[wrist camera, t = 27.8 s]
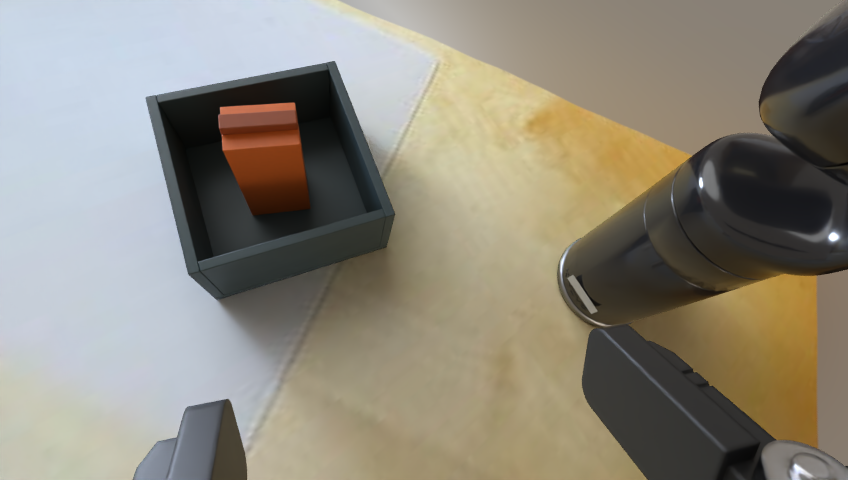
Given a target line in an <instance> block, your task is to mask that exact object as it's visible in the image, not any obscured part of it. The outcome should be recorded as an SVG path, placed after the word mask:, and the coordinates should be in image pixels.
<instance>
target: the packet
mask: <svg viewBox="0 0 848 480" xmlns="http://www.w3.org/2000/svg"><path fill="white" fill-rule="evenodd" d="M218 121H219V130H220V132H221V134H222V147H223V152H224V154H225V156H226V159H227V161H228V163H229V165H230V167H231V169H232V172H233V174H234V176H235V178H236V180H237V183H238V185H239V187H240V189H241V191H242V193H243V196H244V198H245V200H246V202H247V204H248V206H249V209H250V211H251V213H252V215H261V214H270V213H279V212H288V211H297V210H306V209H311V207H310V199H309V192H308V184H307V176H306V170H305V163H304V157H303V151H302V144H301V138H300V131H299V125H298V119H297V112H296V106H295V103H279V104H263V105H246V106H230V107H220V115H218Z"/></svg>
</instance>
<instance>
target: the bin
mask: <svg viewBox="0 0 848 480" xmlns="http://www.w3.org/2000/svg"><path fill="white" fill-rule="evenodd" d="M146 102H147V106H148V110H149V114H150V118H151V122H152V126H153V130H154V135H155V139H156V143H157V147H158V151H159V155H160V159H161V164H162V168H163V172H164V176H165V180H166V184H167V188H168V192H169V197H170V201H171V205H172V209H173V213H174V217H175V221H176V225H177V230H178V234H179V238H180V242H181V246H182V250H183V254H184V259H185V263H186V267H187V271H188V274H189V275H190V276H191V277H192V278H193V279H194V280H195V281H196V282H197V283H198V284H200V285H201V286H202V287H203V288H204V289H205V290H206V291H207V292H209V293H210V294H211V295H212V296H213V297H214V298H215V299H216V300H218V299H221V298H225V297H228V296H231V295H234V294H237V293H241V292H244V291H247V290H250V289H253V288H257V287H260V286H263V285H266V284H269V283H273V282H276V281H279V280H282V279H285V278H289V277H292V276H295V275H298V274H301V273H305V272H308V271H311V270H314V269H317V268H321V267H324V266H327V265H330V264H333V263H337V262H340V261H343V260H346V259H349V258H353V257H356V256H359V255H362V254H365V253H369V252H372V251H375V250H378V249H381V248H385V247H387V243H388V240H389V236H390V232H391V228H392V224H393V220H394V216H395V213H394V210H393V208H392V205H391V203H390V200H389V197H388V195H387V192H386V190H385V187H384V185H383V182H382V180H381V177H380V175H379V172H378V170H377V167H376V164H375V162H374V159H373V157H372V154H371V152H370V149H369V147H368V144H367V142H366V139H365V136H364V134H363V131H362V129H361V126H360V124H359V121H358V119H357V116H356V114H355V111H354V108H353V106H352V103H351V101H350V98H349V96H348V93H347V91H346V88H345V86H344V83H343V81H342V78H341V75H340V73H339V70H338V68H337V65H336V63H335V61H332V62H327V63H323V64H318V65H312V66H307V67H302V68H297V69H291V70H286V71H281V72H275V73H270V74H265V75H260V76H254V77H249V78H244V79H239V80H233V81H228V82H223V83H217V84H212V85H207V86H202V87H196V88H191V89H186V90H181V91H175V92H170V93H165V94H159V95H157V96H156V95H154V96H149V97H146ZM279 103H295V106H296V112H297V119H298V125H299V131H300V138H301V144H302V151H303V157H304V163H305V170H306V176H307V184H308V192H309V199H310V207H311V209H306V210H297V211H288V212H279V213H270V214H261V215H252V213H251V211H250V209H249V206H248V204H247V202H246V200H245V198H244V196H243V193H242V191H241V189H240V187H239V185H238V183H237V180H236V178H235V176H234V174H233V172H232V169H231V167H230V165H229V163H228V161H227V159H226V156H225V154H224V152H223V147H222V134H221V132H220V130H219V121H218V115H220V107H230V106H246V105H263V104H279Z"/></svg>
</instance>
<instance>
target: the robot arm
mask: <svg viewBox="0 0 848 480" xmlns="http://www.w3.org/2000/svg"><path fill="white" fill-rule="evenodd" d="M759 111H760V117H761V119H762V121H763V123H764V125H765V127H766V128H767V129H768V130H769V132H770V133H771V134H772V135H773V136H770V135H766V134H758V133H738V134H733V135H729V136H726V137H723V138H720V139H718V140H716V141H714V142H712V143H710V144H709V145H707V146H705V147H704V148H703V149H701V150H700V151H699V152H697V153H696V154H695V155H693V156H692V157H690V158H689V159H688V160H686V161H685V162H684V163H682V164H681V165H680V166H678V167H677V168H676V169H674V170H673V171H672V172H670V173H669V174H668V175H666V176H665V177H663V178H662V179H661V180H660V181H658V182H657V183H656V184H654V185H653V186H652V187H650V188H649V189H648V190H646V191H645V192H643V193H642V194H641V195H639V196H638V197H637V198H635V199H634V200H633V201H631V202H630V203H629V204H627V205H626V206H624V207H623V208H622V209H620V210H619V211H618V212H616V213H615V214H614V215H612V216H611V217H610V218H608V219H607V220H605V221H604V222H603V223H601V224H600V225H599V226H597V227H596V228H595V229H593V230H592V231H590V232H589V233H588V234H586V235H585V236H584V237H582V238H580V239H578V240H576V241H575V242H574V243H572V244H571V245H570V246H569V247H568V248H567V249H566V250H565V251H564V253H563V254H562V256H561V258H560V261H559V265H558V272H557V276H558V284H559V288H560V291H561V294H562V296H563V298H564V300H565V301H566V303H567V304H568V306H569V307H570V308H571V310H572V311H573V312H574V313H575V314H576V315H578V316H579V317H580V318H581V319H583V320H584V321H586V322H588V323H590V324H592V325H595V326H598V327H601V328H596V329H593V330H592V331H591V332H590V334H589V338H588V344H587V351H586V357H585V363H584V369H583V376H582V388H583V392H584V395H585V398H586V400H587V402H588V404H589V405H590V407H591V408H592V409H593V411H594V412H595V413H596V415H597V416H598V417H599V418H600V420H601V421H602V422H603V423H604V425H605V426H606V427H607V429H608V430H609V431H610V432H611V434H612V435H613V436H614V437H615V439H616V440H617V441H618V443H619V444H620V445H621V446H622V448H623V449H624V450H625V451H626V453H627V454H628V455H629V457H630V458H631V459H632V460H633V462H634V463H635V464H636V465H637V467H638V468H639V469H640V471H641V472H642V473H643V474H644V476H645V477H646V478H647V479H648V480H848V466H844V465H843V464H842V463H840V462H839V461H838V460H836V459H835V458H833V457H832V456H830V455H828V454H826V453H825V452H823V451H821V450H819V449H817V448H815V447H812V446H809V445H807V444H803V443H800V442H796V441H790V440H776V439H775V438H773V437H772V436H771V435H770V434H768V433H767V432H766V431H765V430H764V429H763V428H761V427H760V426H759V425H758V424H757V423H756V422H754V421H753V420H752V419H751V418H750V417H749V416H747V415H746V414H745V413H744V412H743V411H742V410H740V409H739V408H738V407H737V406H736V405H735V404H733V403H732V402H731V401H730V400H729V399H727V398H726V397H725V396H724V395H723V394H722V393H720V392H719V391H718V390H717V389H716V388H715V387H713V386H709V384H708V381H706V380H705V379H704V378H703V377H702V376H701V375H699V374H698V373H697V372H695V373H694V372H693V369H692V368H691V367H690V366H689V365H688V364H687V363H685V362H684V361H683V360H682V359H681V358H679V357H678V356H677V355H676V354H675V353H673V352H671V351H669V350H667V349H666V348H664V347H662V346H660V345H658V344H656V343H654V342H652V341H646V340H645V339H644V338H643V337H642V336H640V335H639V334H638V333H637V332H636V331H635V330H634V329H633V328H631V327H630V326H629V325H628V324H630V323H632V322H634V321H637V320H640V319H644V318H647V317H650V316H653V315H656V314H659V313H663V312H666V311H669V310H672V309H675V308H678V307H681V306H684V305H688V304H691V303H694V302H697V301H700V300H703V299H706V298H710V297H713V296H716V295H719V294H722V293H725V292H728V291H732V290H735V289H738V288H740V287H743V286H746V285H750V284H753V283H756V282H759V281H762V280H765V279H768V278H772V277H776V276H779V275H782V274H789V275H798V276H814V275H823V274H829V273H834V272H839V271H843V270H847V269H848V0H842V1H841V2H840V3H838V4H837V5H836V6H835V7H834V8H832V9H831V10H830V11H828V12H827V13H826V14H825V15H824V16H822V17H821V18H820V19H819V20H818V21H817V22H816V23H814V24H813V25H812V26H811V27H810V28H809V29H808V30H806V32H805V33H804V34H803V35H802V36H801V37H800V38H799V39H798V40H797V41H796V42H795V43H794V44H793V45H792V46H791V47H790V48H789V49H788V50H787V51H786V52H785V53H784V54H783V55H782V57H781V58H780V59H779V60H778V62H777V63H776V65H775V66H774V67H773V69H772V70H771V72H770V74H769V75H768V77H767V79H766V81H765V83H764V85H763V88H762V91H761V95H760V99H759ZM133 480H247V464H246V457H245V452H244V448H243V444H242V441H241V437H240V433H239V430H238V426H237V422H236V419H235V415H234V411H233V408H232V404H231V402H230V400H229V399H225V400H220V401H215V402H210V403H205V404H200V405H194V406H189V407H187V408H186V409H185V411H184V414H183V418H182V421H181V425H180V429H179V432H178V436H177V438H172V439H167V440H163V441H158V442H157V443H156V444H155V445H154V447H153V448H152V449H151V450H150V452H149V453H148V454H147V456H146V457H145V458H144V459H143V461H142V462H141V463H140V464H139V466H138V467H137V469H136V471H135V474H134V477H133Z"/></svg>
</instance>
